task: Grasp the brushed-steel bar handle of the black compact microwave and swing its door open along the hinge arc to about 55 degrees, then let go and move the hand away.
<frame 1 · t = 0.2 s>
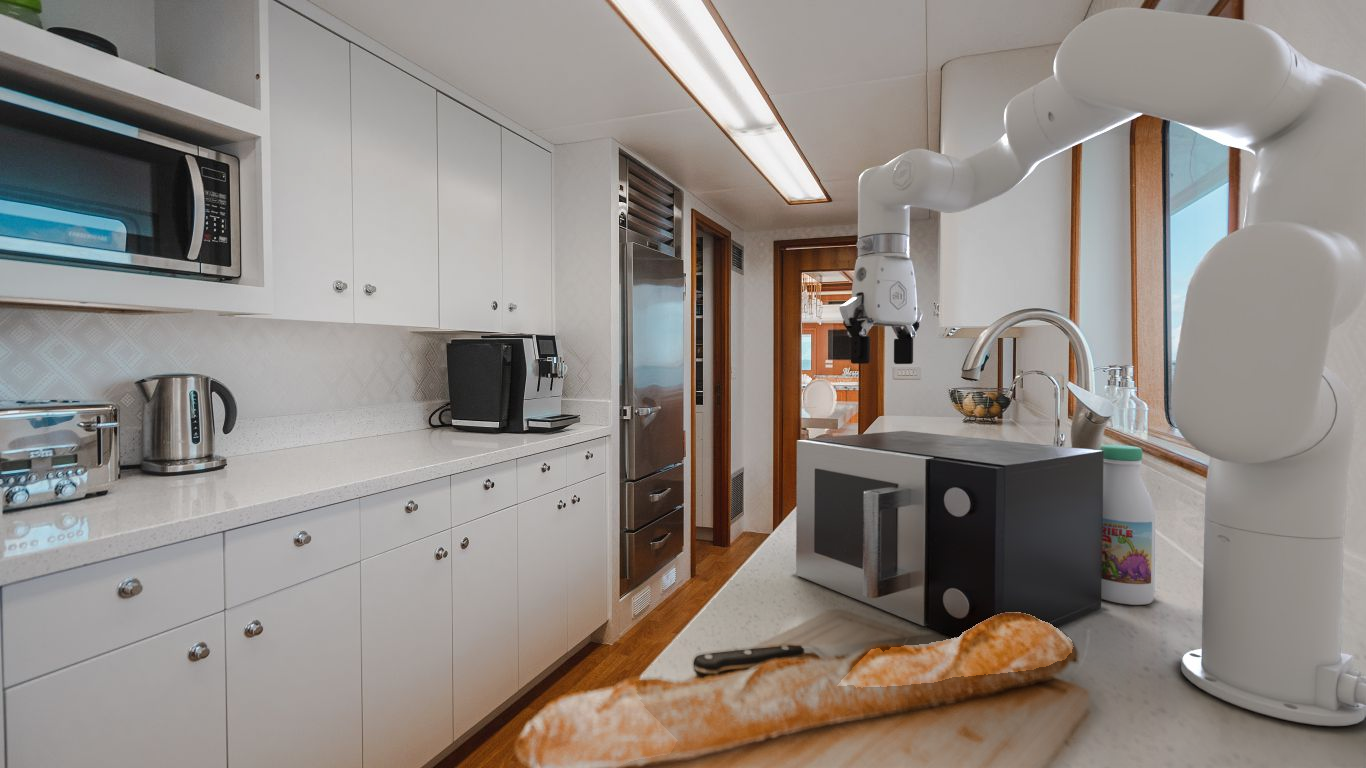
hand: (882, 363, 95), 31 cm above the worktop, tool pointing down, fingers open, 9 cm apart
milk bottle: (1118, 597, 83), on the worktop
microwave door: (840, 525, 80), point 10 cm above the worktop, hinge at 0.0°
microwave: (941, 590, 85), on the worktop
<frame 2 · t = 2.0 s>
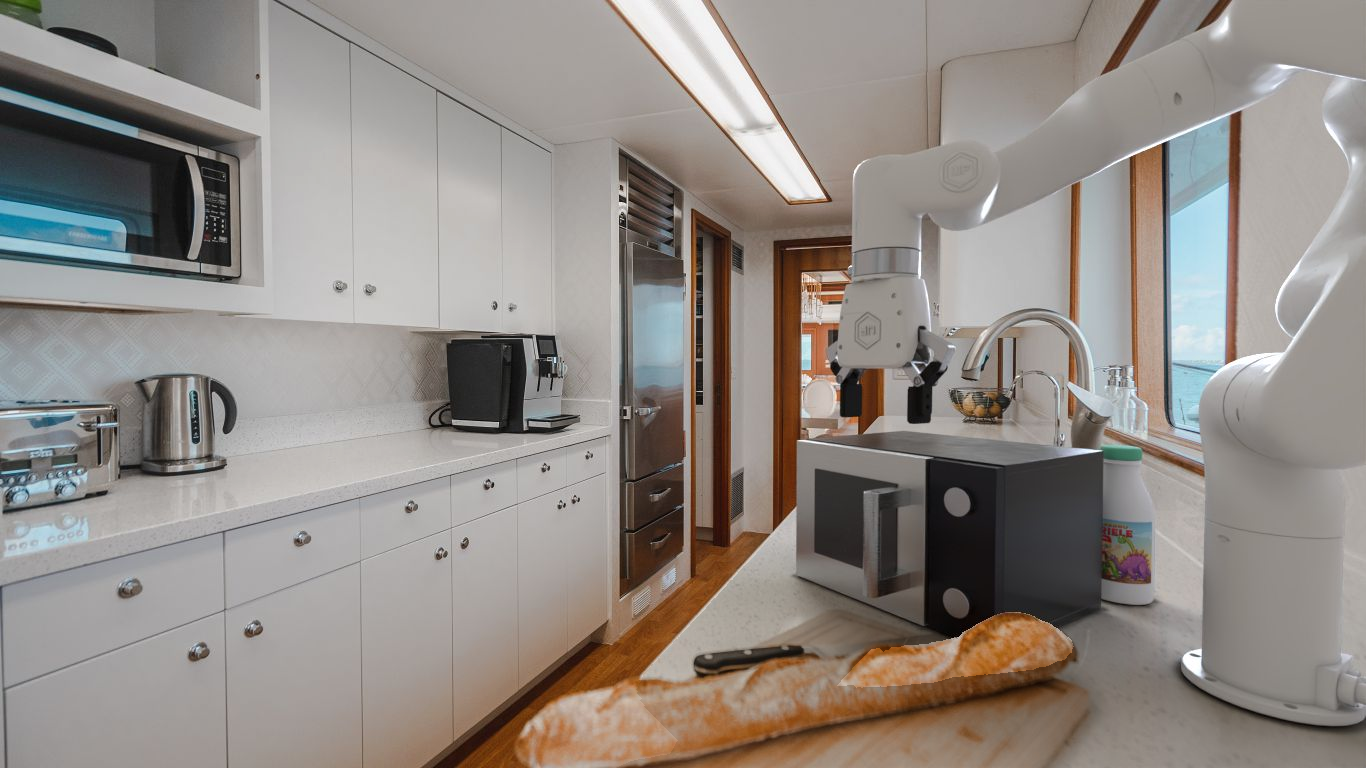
hand: (883, 419, 72), 24 cm above the worktop, tool pointing down, fingers open, 9 cm apart
nothing on the worktop moved.
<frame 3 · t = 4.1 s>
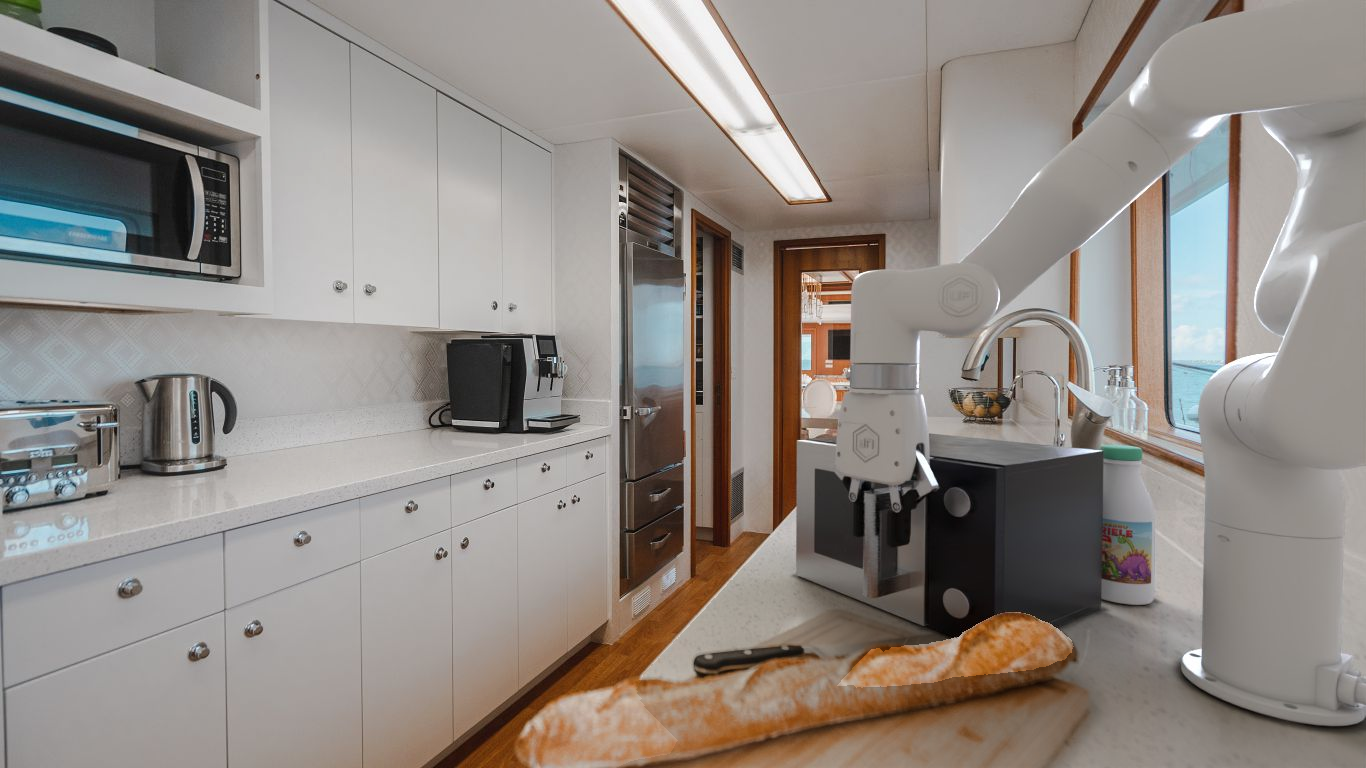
hand: (880, 538, 72), 11 cm above the worktop, tool pointing down, fingers open, 4 cm apart
microwave door: (840, 525, 80), point 10 cm above the worktop, hinge at 0.0°, touching gripper
everything else where it was.
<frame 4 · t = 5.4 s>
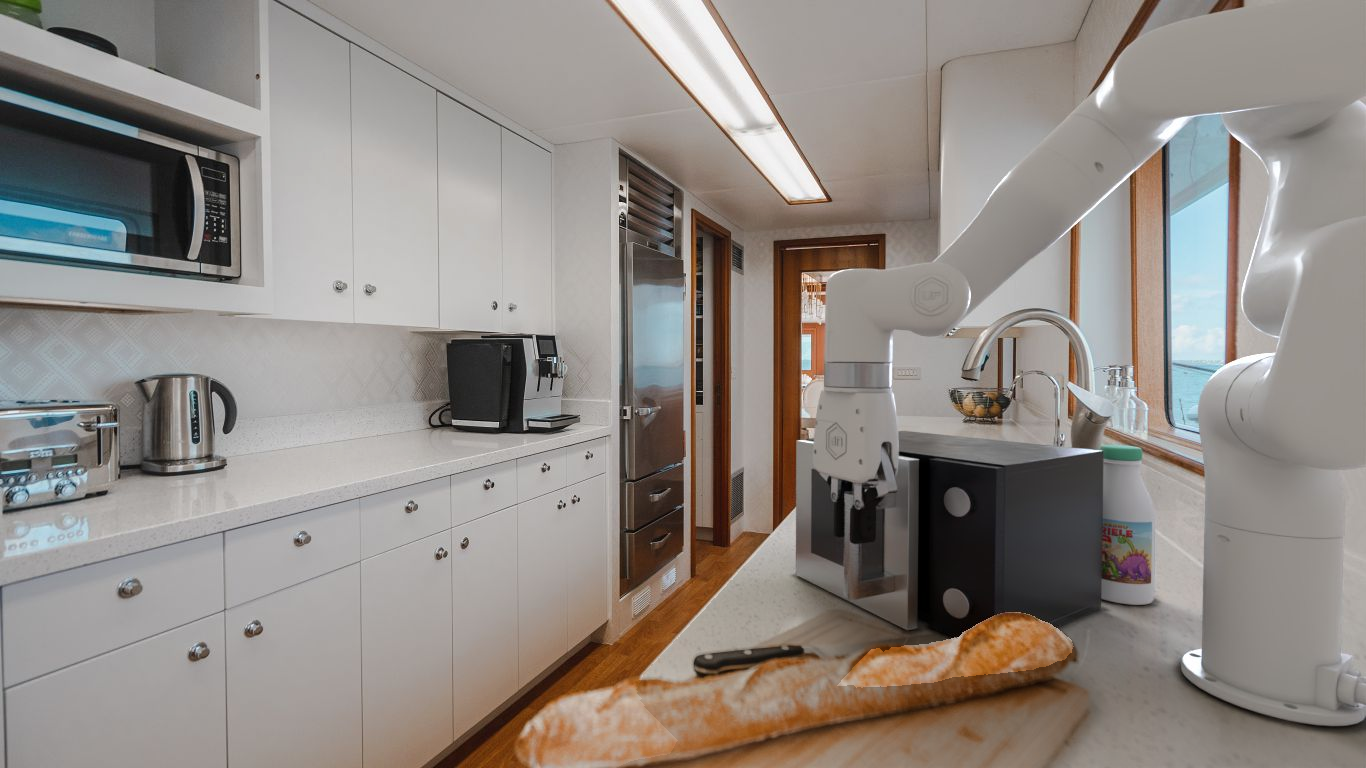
hand: (854, 537, 72), 11 cm above the worktop, tool pointing down, fingers closed, pressing on microwave door
microwave door: (830, 526, 80), point 10 cm above the worktop, hinge at 7.0°, touching gripper
everything else where it was.
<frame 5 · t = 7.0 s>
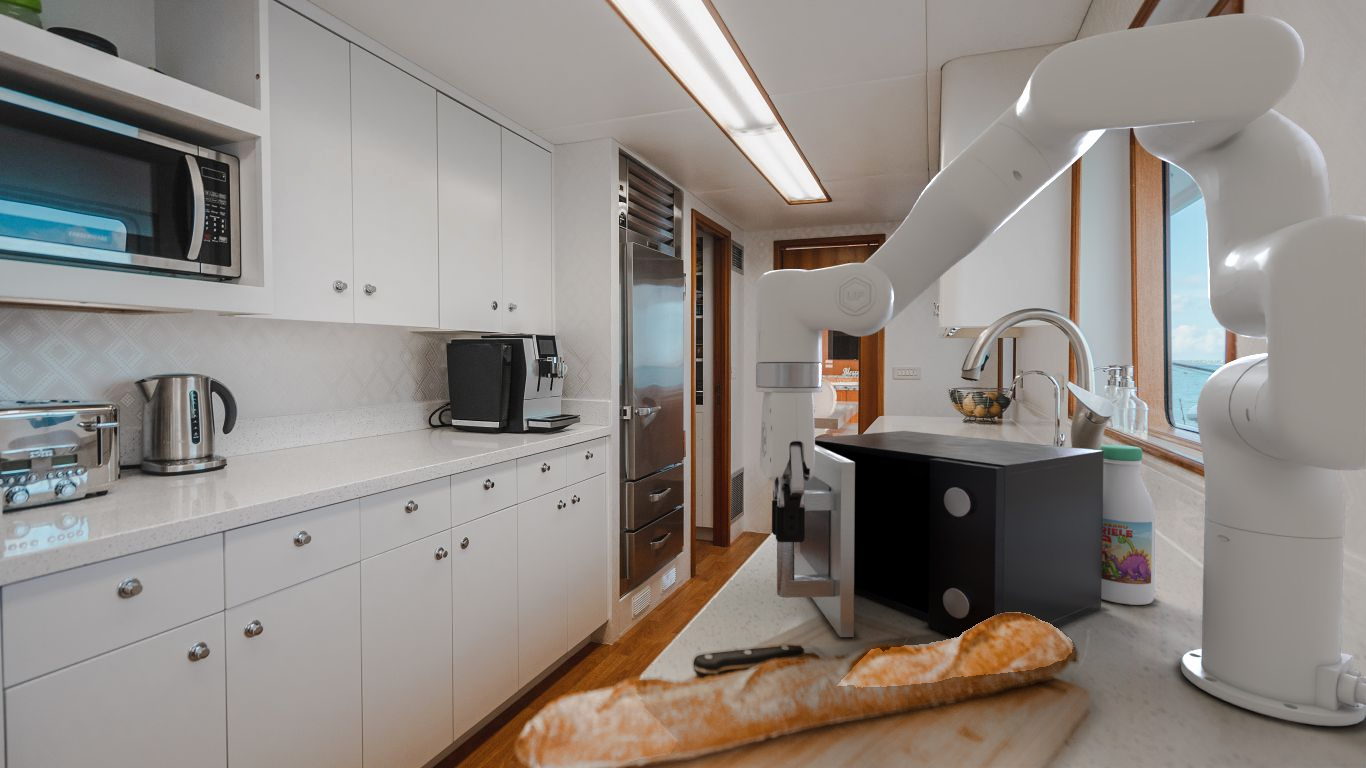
hand: (787, 536, 72), 11 cm above the worktop, tool pointing down, fingers closed, pressing on microwave door
microwave door: (795, 526, 80), point 10 cm above the worktop, hinge at 29.4°, touching gripper
everything else where it was.
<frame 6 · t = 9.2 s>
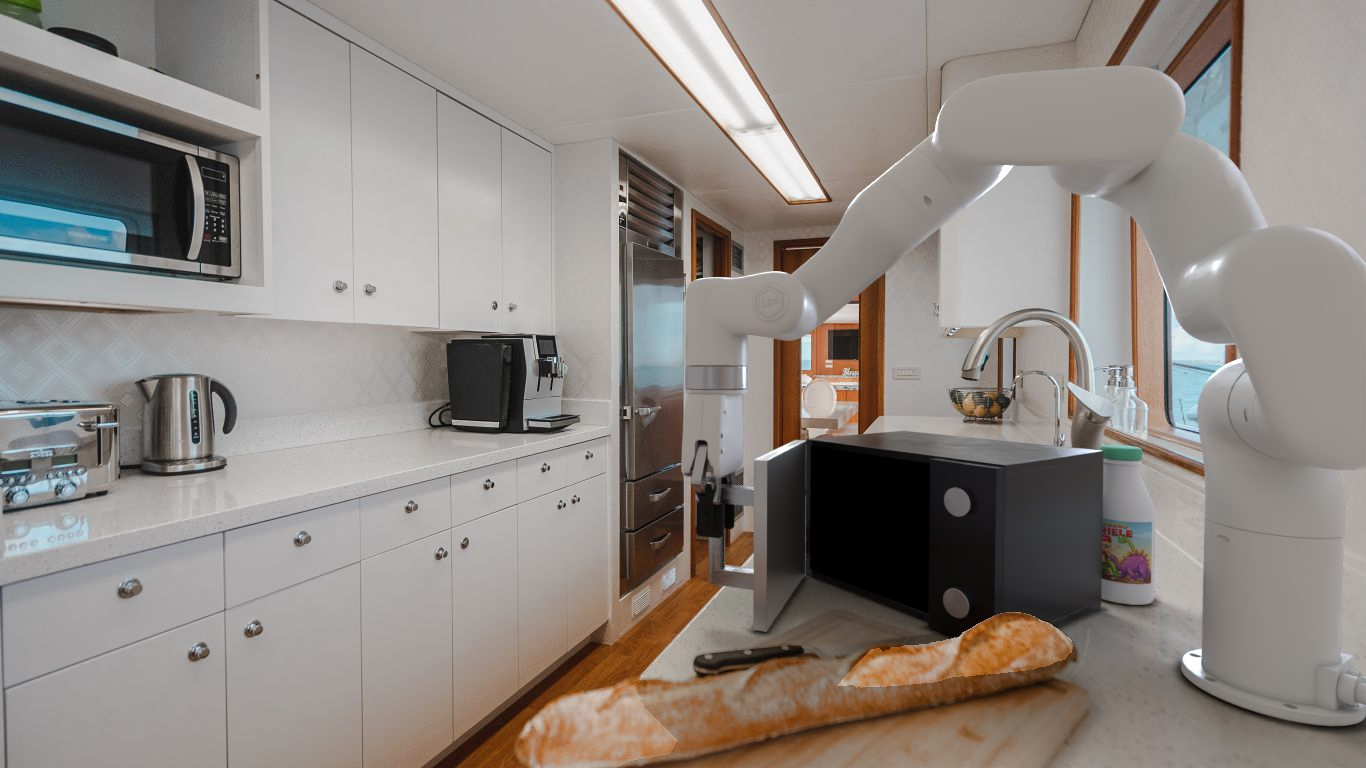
hand: (715, 530, 76), 11 cm above the worktop, tool pointing down, fingers open, 3 cm apart
microwave door: (758, 521, 83), point 10 cm above the worktop, hinge at 55.3°
everything else where it was.
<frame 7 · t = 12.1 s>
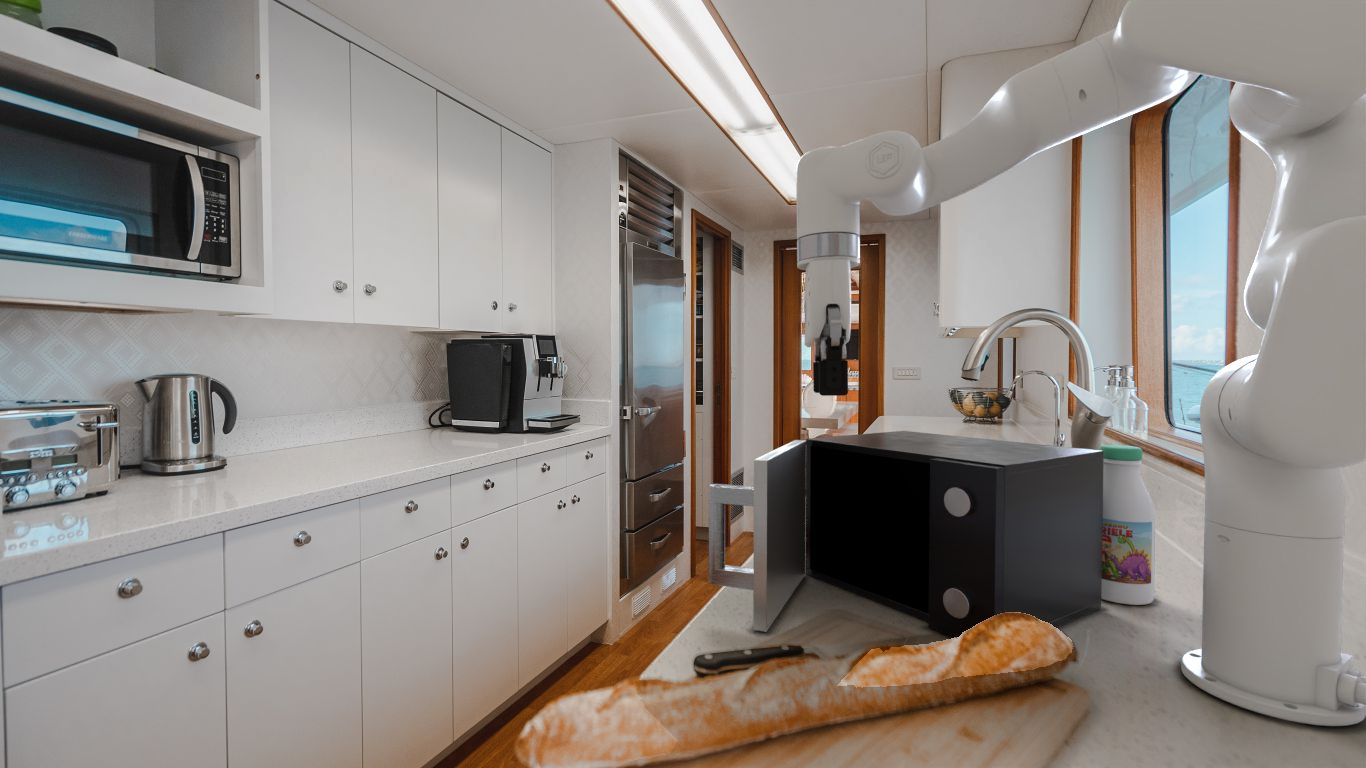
hand: (829, 393, 77), 27 cm above the worktop, tool pointing down, fingers open, 9 cm apart
nothing on the worktop moved.
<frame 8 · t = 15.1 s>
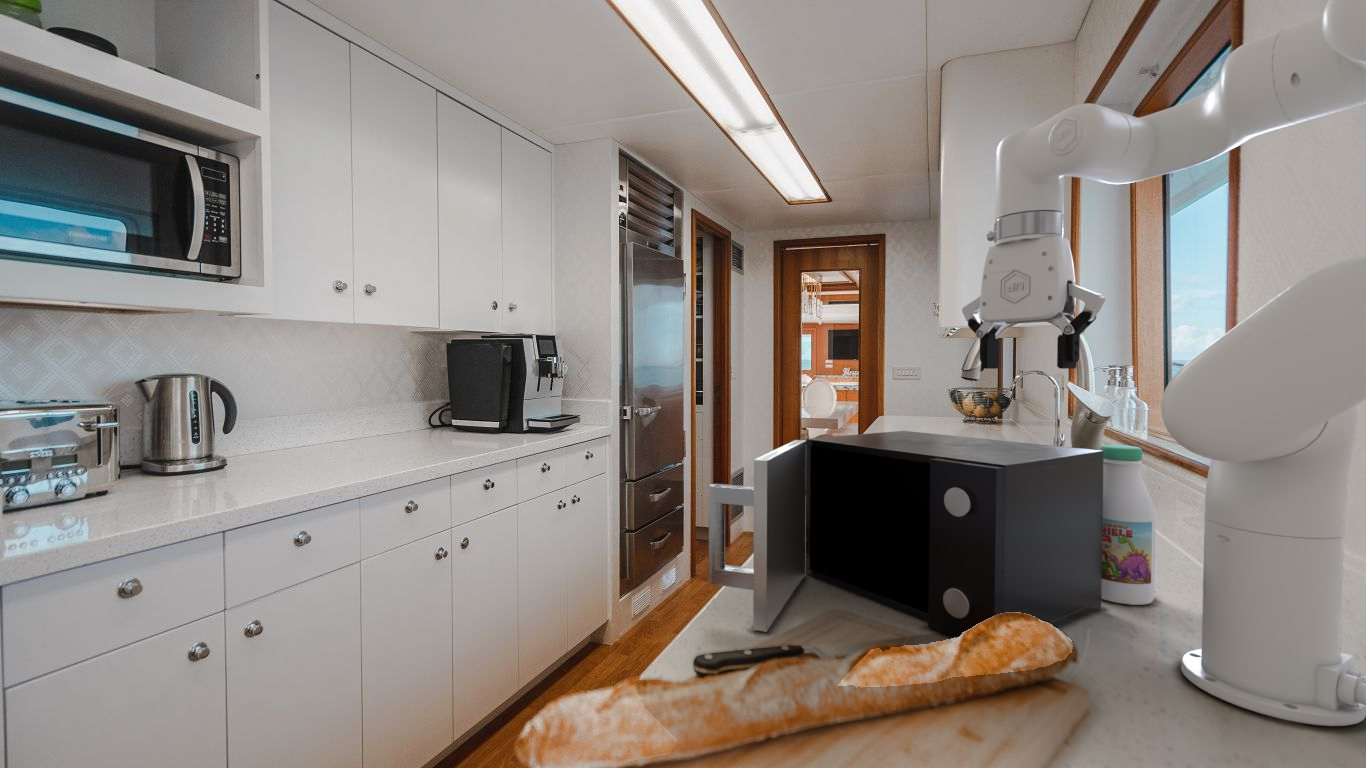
hand: (1026, 368, 79), 30 cm above the worktop, tool pointing down, fingers open, 9 cm apart
nothing on the worktop moved.
at the end: microwave door at +55° (first picture: +0°) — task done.
